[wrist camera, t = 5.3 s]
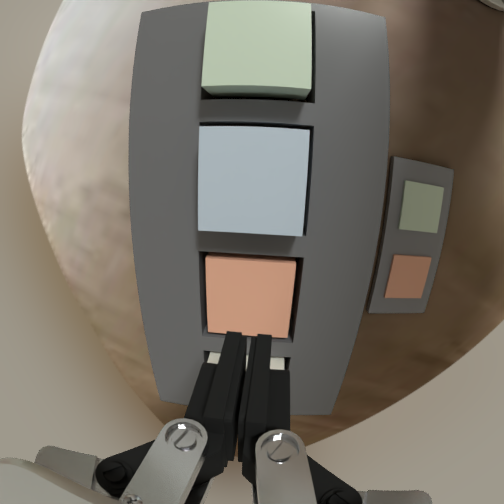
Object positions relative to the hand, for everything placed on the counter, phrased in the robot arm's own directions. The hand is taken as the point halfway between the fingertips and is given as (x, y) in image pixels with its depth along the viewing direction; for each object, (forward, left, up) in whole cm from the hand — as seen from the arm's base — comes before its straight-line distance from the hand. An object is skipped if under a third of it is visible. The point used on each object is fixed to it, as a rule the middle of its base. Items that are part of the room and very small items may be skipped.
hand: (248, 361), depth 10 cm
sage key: (0, -13, -7) cm, 15 cm away
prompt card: (-11, -3, -9) cm, 14 cm away
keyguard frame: (0, -3, -9) cm, 10 cm away
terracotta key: (0, +1, -9) cm, 9 cm away
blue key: (0, -6, -7) cm, 10 cm away
